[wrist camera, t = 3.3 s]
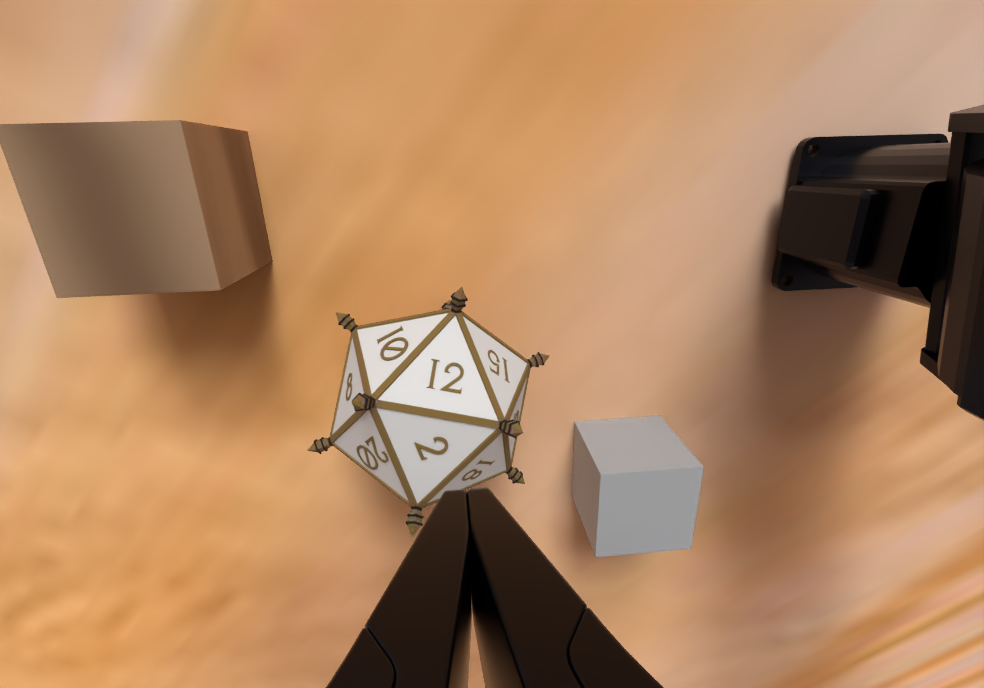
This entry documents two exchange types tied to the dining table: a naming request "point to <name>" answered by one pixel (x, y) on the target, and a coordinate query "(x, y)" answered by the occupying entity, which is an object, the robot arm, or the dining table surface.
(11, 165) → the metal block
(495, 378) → the game die
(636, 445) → the slate block
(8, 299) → the dining table surface
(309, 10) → the dining table surface
